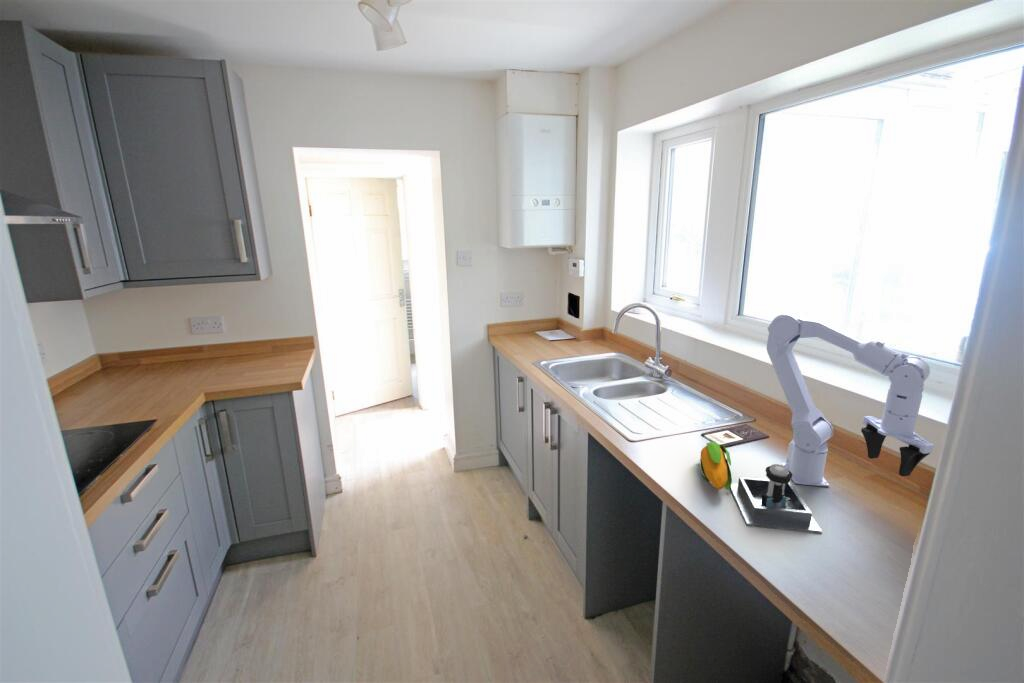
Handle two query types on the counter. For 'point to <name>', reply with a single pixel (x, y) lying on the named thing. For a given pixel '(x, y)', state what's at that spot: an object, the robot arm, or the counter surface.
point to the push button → (776, 486)
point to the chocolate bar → (735, 435)
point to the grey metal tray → (768, 517)
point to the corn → (716, 465)
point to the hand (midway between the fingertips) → (888, 466)
